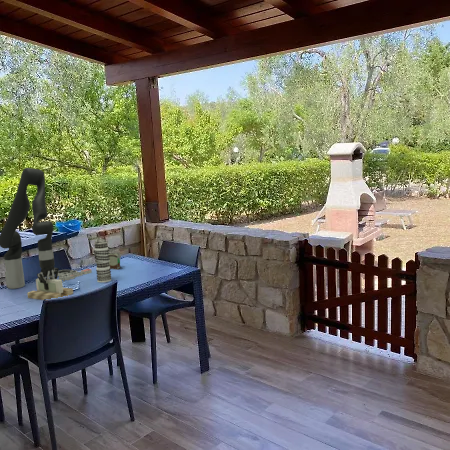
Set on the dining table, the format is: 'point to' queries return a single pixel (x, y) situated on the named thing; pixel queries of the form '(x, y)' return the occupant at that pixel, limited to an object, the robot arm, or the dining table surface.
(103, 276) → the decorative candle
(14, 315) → the dining table surface
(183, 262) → the dining table surface
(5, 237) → the robot arm
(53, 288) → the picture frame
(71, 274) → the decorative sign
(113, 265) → the food container
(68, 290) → the tan bumpy slab
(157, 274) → the dining table surface
